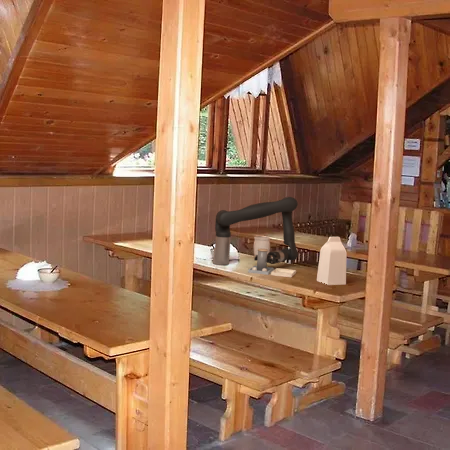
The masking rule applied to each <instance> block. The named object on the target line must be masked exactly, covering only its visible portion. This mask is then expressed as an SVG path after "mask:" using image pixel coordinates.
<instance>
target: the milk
mask: <svg viewBox="0 0 450 450" xmlns="http://www.w3.org/2000/svg"><path fill="white" fill-rule="evenodd" d="M347 255H348V254H347V250H346V248H345V246H344V245H343V242H342V240H341V237H340V236H329V238H328V240H327V241H326V242H325V243H324V244H323V245H322V246H321V248H320V250H319V257H318V260H319V261H318V267H317V275H316V281H317V282H319V283H321V282H322V283H321V284H324V283H325V284H324V285H326V284H327V285H326V286H334V285H335V286H336V285H337V286H339V285H347Z"/></svg>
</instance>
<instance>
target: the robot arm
mask: <svg viewBox="0 0 450 450" xmlns="http://www.w3.org/2000/svg"><path fill="white" fill-rule="evenodd" d="M298 205H299V204H298V200H297V199H296V198H294V197H293V196H287V197H286V196H284V197H283V198H282V199H279V200H275V201H266V202H260V203H253V204H250V205H247V206H245V207H243V208H241V209H237V210H225V209H222V210H219V211H218V212H217V213H216V215H215V221H214V222H215V225H214V226H215V227H214V229H215V230H214V231H215V244H214V248H213V261H212V264H213V265H218V266H229V265H230V256H231V255H230V254H231V253H230V251H231V236H232V235H231V234H232V232H231V226H232V225H234V224H237V223H240V222H246V221H253V220H258V219H262V218H266V217H269V216H273V215H275V214H279V213H281V217H282V226H283V227H282V231H283V244H284V245H286V246H288V247H289V248H283V249H280V250H273V251H269V253H268V254H267V263H268V264H270V265H275V264H279V263H281V262H286V261H295V260H297V258H298V255H299V253H298V249H297V248H298V247H297V245H296V234H295V226H294V223H293V211H295V210H296V209H297V208H298ZM257 257H258V255H256V257H255V256H254V257H253V258H254V259H253V260H254V261H256V262H257Z"/></svg>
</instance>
